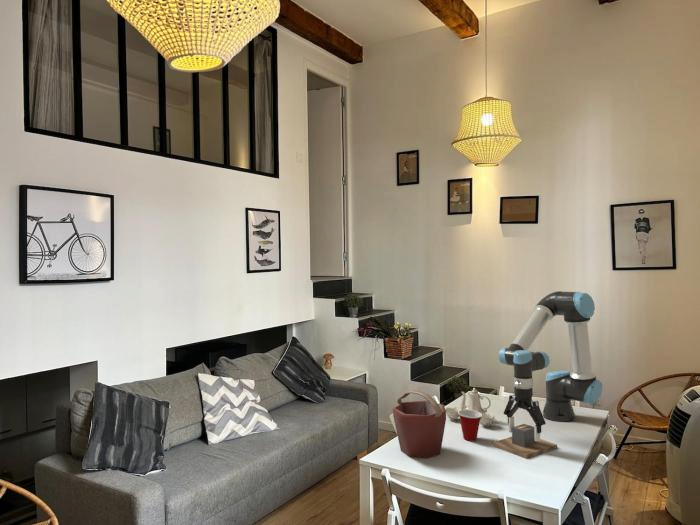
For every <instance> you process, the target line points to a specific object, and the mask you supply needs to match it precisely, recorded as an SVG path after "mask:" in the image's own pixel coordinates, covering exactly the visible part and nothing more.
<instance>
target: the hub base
mask: <svg viewBox="0 0 700 525" xmlns="http://www.w3.org/2000/svg"><path fill="white" fill-rule="evenodd" d="M491 444H492V447H494V448H496V449H499V450H502V451H505V452H507V453H510V454H513V455H514V456H518V457H521V458H524V459H531V458H532V457H535V456H538V455H541V454H545V453H547V452H550V451H553V450H555V449H558V444H556V443H553V442H551V441H547V440H544V439H543V438H542V439H541V438H540V440H539V441H537V444H534V445H531V446H528V447H525V448H524V447H521V446H518V445H515V444H512V436H509V437H505V438H503V439H500V440H496V441H494V442H492V443H491Z"/></svg>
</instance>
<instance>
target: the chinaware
mask: <svg viewBox="0 0 700 525" xmlns="http://www.w3.org/2000/svg"><path fill="white" fill-rule="evenodd" d="M461 394H462V398H461V402H460V405H459V406H460V408H458V407H445V410H446V417H447V418H448V419H449V421H451V422H455V421H457V419H458V418H460V417H459V414H458V411H460V410H474V411H477V412H480V413H481V414H482V417H481V419H480V422H479V425H481V427H483V428H489V427H492V426H496V425H497V424H498V420H497V419H496V418H495V415H494V414H492V413H487V412H488V409H489V408H490V407H491V400H490V398H489V397H488V396H486V395H482V393H481V392H479V391H478V390H477V389H476V388H475V387H473V389H472V390H471V391H469V392H467V394H466V393H465V391H461ZM466 395H468V399H469V400H468V405H466V400H467V397H466ZM484 398H486V399H487V400H488V406H487V407H482V403H481V400H484ZM493 421H496V423H495V424H493Z"/></svg>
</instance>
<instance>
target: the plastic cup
mask: <svg viewBox="0 0 700 525" xmlns="http://www.w3.org/2000/svg"><path fill="white" fill-rule="evenodd" d="M458 414H459V417H458V418H459V422H460V427H461V432H462V436H463V437H462V438H463V440H465V441H468V442H472V441H476V440H477V439H478V433H479V429H480V423H479V422H480V419H481V417H482V414H481V413H480V412H477V411H474V410H460V411H458Z"/></svg>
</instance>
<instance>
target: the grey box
mask: <svg viewBox="0 0 700 525" xmlns="http://www.w3.org/2000/svg"><path fill="white" fill-rule="evenodd" d="M511 437H512V444H515V445H518V446H521V447H524V448H525V447H528V446H531V445H534V444H537V441H535V434H534V426H533V425H530V424H526V423H522V424H519V425H514V427H512V432H511Z"/></svg>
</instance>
